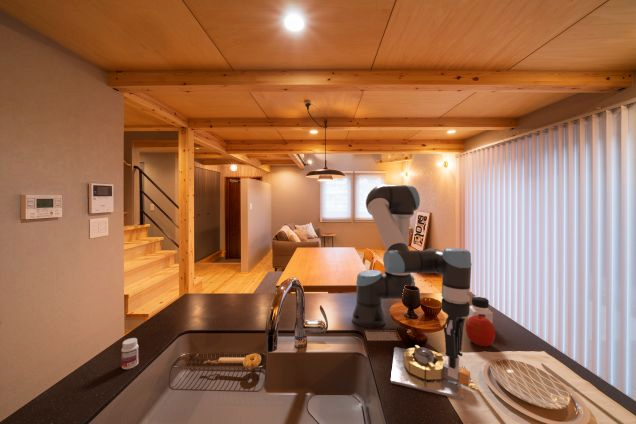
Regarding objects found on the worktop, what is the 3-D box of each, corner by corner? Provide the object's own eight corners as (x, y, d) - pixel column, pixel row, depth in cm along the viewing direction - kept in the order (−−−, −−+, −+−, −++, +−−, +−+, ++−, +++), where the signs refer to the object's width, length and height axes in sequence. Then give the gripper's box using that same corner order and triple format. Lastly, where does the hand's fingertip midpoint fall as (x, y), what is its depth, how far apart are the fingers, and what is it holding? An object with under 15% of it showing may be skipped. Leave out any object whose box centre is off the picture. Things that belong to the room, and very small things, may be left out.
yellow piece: (398, 367, 85) (398, 355, 85) (412, 351, 94) (413, 341, 94) (463, 396, 72) (464, 383, 72) (473, 375, 81) (473, 363, 81)
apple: (459, 338, 106) (460, 311, 106) (479, 336, 109) (480, 309, 108) (479, 352, 96) (480, 322, 96) (501, 349, 99) (502, 319, 98)
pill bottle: (127, 361, 89) (127, 337, 89) (141, 360, 89) (141, 337, 89) (117, 370, 84) (117, 345, 84) (133, 369, 85) (132, 344, 85)
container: (492, 330, 114) (493, 301, 113) (473, 328, 115) (474, 300, 115) (485, 322, 121) (485, 295, 121) (467, 321, 123) (467, 294, 122)
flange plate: (394, 348, 98) (394, 331, 98) (452, 359, 91) (453, 341, 91) (390, 382, 79) (391, 361, 79) (463, 399, 73) (464, 376, 72)
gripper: (463, 308, 71) (460, 393, 71) (474, 298, 80) (472, 372, 80) (435, 301, 76) (432, 380, 76) (448, 292, 85) (446, 362, 85)
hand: (453, 376), depth 78 cm, fingers closed
